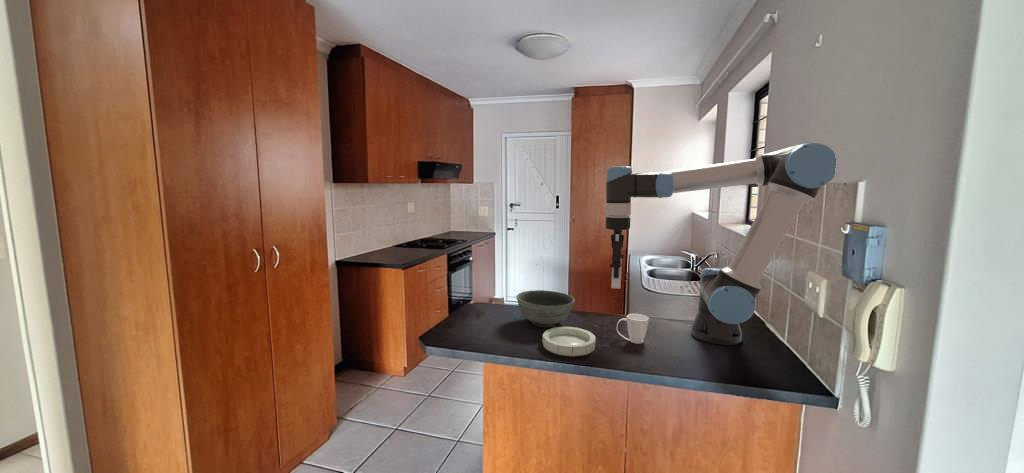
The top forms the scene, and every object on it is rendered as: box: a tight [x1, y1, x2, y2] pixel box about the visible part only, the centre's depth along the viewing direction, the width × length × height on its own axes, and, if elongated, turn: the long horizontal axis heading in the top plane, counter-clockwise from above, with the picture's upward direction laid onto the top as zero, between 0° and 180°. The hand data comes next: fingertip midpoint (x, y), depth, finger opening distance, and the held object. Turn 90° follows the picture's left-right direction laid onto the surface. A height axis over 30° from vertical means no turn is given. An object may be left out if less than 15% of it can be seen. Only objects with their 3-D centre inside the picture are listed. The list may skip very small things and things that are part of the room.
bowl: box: [515, 289, 576, 328], centre depth 146 cm, size 21×21×10 cm
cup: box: [615, 313, 650, 344], centre depth 131 cm, size 7×10×8 cm
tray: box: [542, 326, 597, 357], centre depth 127 cm, size 16×16×3 cm
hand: (616, 282), depth 130 cm, fingers open, 13 cm apart
